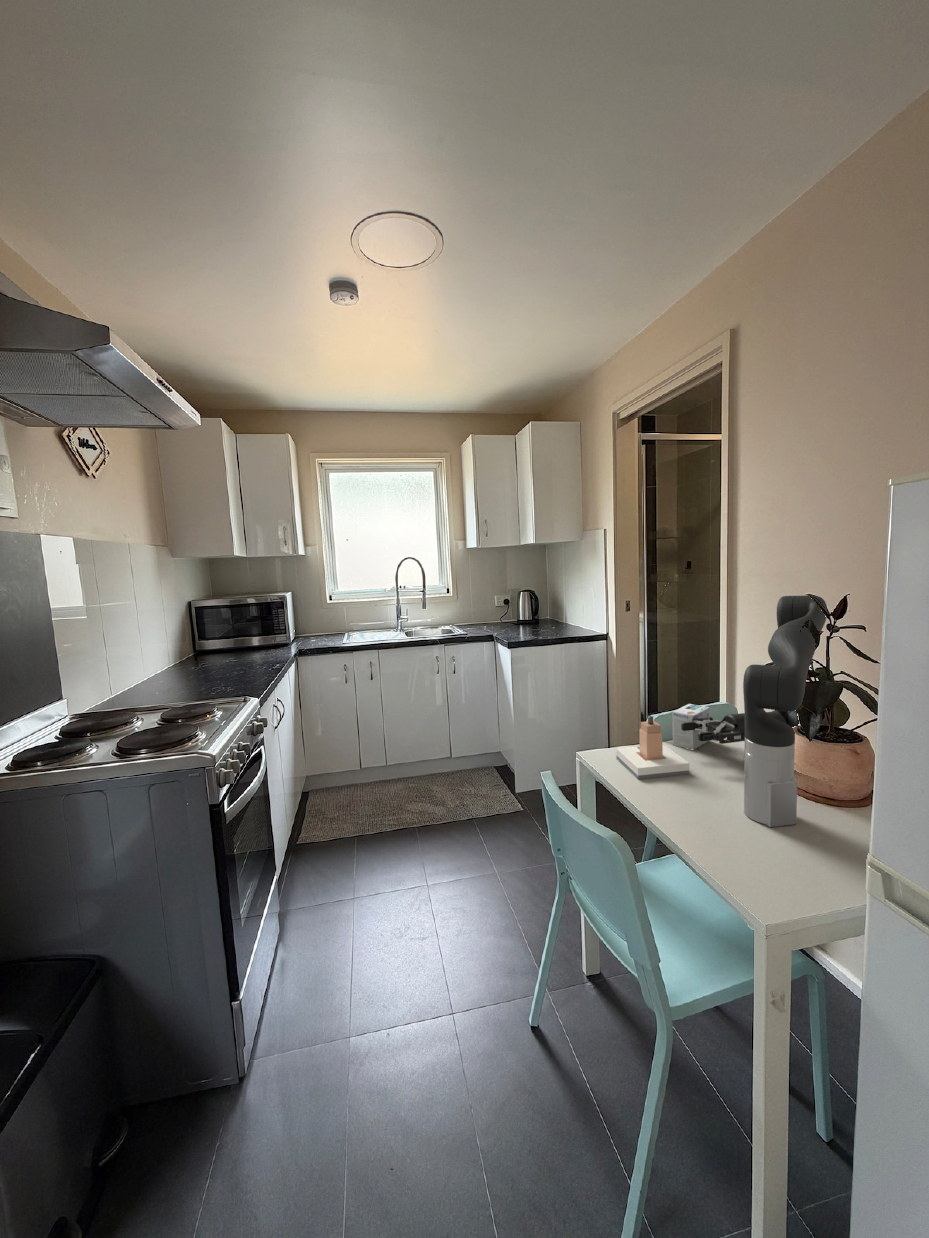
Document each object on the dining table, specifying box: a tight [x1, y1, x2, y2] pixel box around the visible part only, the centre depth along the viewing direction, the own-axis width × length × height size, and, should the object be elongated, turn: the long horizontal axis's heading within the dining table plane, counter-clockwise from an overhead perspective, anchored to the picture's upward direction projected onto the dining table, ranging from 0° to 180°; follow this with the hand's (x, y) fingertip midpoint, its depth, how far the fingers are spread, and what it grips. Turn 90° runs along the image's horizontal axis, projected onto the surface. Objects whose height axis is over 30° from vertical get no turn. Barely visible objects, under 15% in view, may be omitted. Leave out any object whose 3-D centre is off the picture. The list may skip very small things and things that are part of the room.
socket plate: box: [615, 743, 690, 780], centre depth 139 cm, size 14×14×3 cm
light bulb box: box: [671, 703, 710, 750], centre depth 153 cm, size 11×7×11 cm, turn 130°
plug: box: [638, 715, 664, 761], centre depth 138 cm, size 4×4×13 cm
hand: (690, 731), depth 139 cm, fingers open, 8 cm apart
